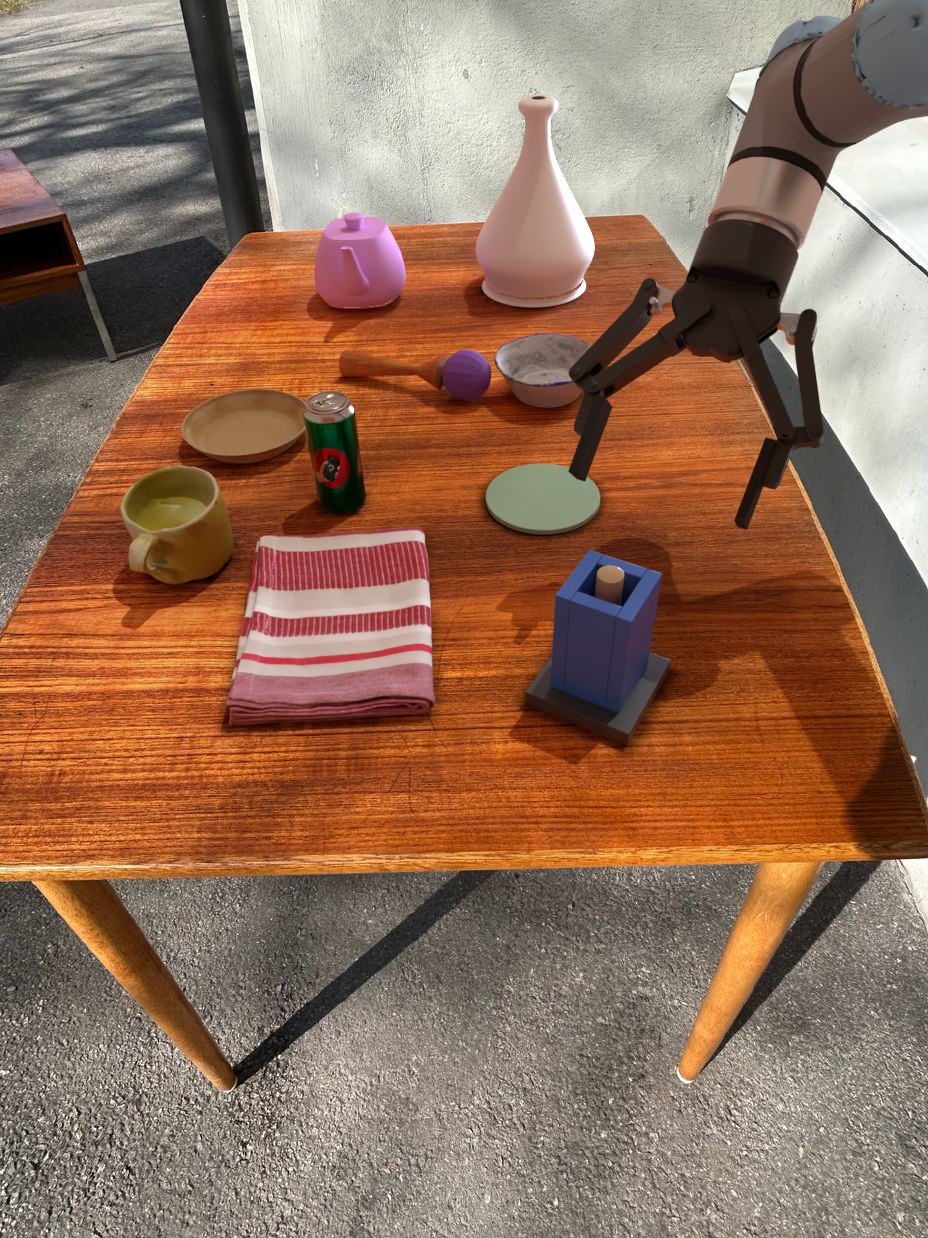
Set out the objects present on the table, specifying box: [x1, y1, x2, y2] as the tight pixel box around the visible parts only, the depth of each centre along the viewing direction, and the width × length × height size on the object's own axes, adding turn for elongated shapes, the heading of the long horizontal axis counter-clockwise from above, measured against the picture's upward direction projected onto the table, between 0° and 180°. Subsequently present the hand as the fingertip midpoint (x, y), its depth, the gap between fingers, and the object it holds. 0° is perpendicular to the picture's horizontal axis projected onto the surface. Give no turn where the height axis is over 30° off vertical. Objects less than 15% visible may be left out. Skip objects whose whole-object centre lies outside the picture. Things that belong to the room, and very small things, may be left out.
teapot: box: [313, 211, 407, 310], centre depth 125 cm, size 20×13×12 cm, turn 0°
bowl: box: [493, 333, 593, 409], centre depth 106 cm, size 13×13×5 cm
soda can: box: [303, 390, 367, 515], centre depth 88 cm, size 5×5×12 cm
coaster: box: [485, 462, 601, 536], centre depth 91 cm, size 12×12×1 cm
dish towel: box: [224, 526, 436, 727], centre depth 78 cm, size 17×23×3 cm
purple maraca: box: [338, 349, 492, 402], centre depth 108 cm, size 6×6×20 cm
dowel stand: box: [524, 565, 672, 747], centre depth 68 cm, size 9×9×12 cm
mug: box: [119, 464, 235, 585], centre depth 83 cm, size 12×10×10 cm
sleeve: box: [550, 549, 663, 713], centre depth 68 cm, size 6×6×10 cm
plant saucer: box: [180, 388, 306, 465], centre depth 101 cm, size 15×15×3 cm
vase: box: [474, 94, 595, 308], centre depth 123 cm, size 17×17×25 cm
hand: (655, 500), depth 68 cm, fingers open, 13 cm apart
